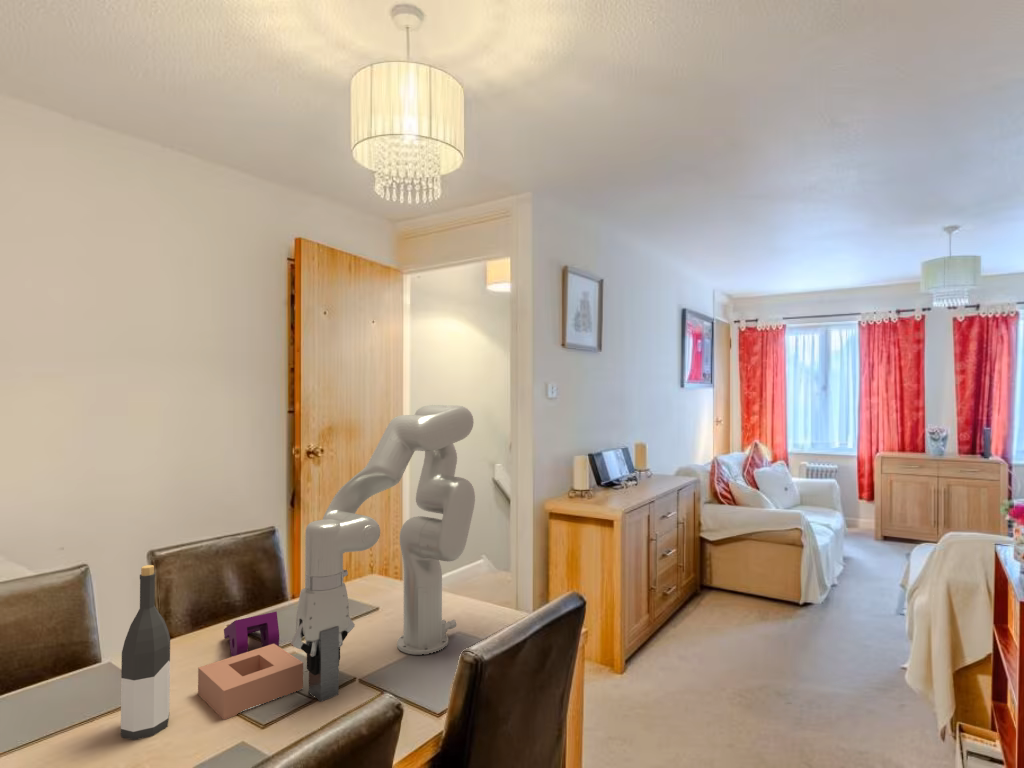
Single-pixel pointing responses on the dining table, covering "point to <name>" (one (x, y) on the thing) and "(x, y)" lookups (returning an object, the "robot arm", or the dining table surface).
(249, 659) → the well holder
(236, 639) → the mounting bracket
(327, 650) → the steel bar
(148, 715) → the wine bottle
